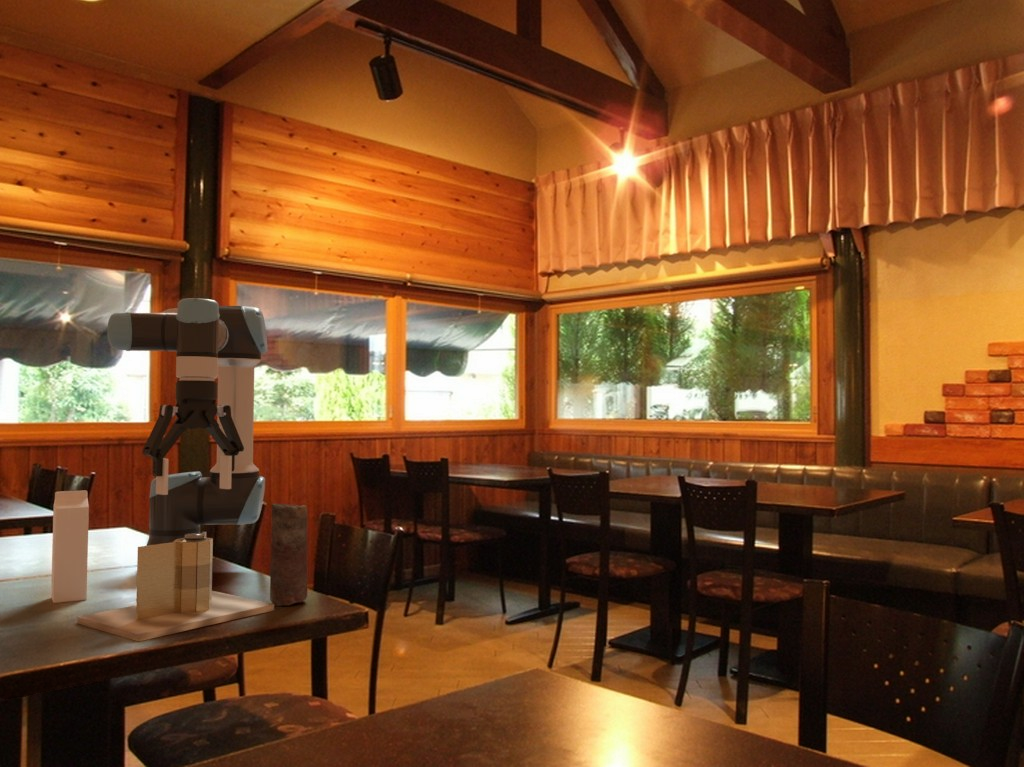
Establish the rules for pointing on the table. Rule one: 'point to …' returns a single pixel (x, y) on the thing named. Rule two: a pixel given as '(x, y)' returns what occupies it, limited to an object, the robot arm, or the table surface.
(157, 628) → the board
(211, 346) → the robot arm
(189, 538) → the hinge pin
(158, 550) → the hinge
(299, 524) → the candle
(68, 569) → the milk
